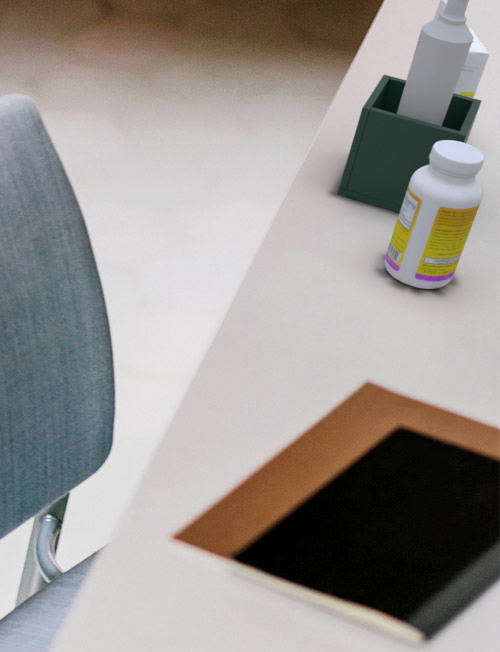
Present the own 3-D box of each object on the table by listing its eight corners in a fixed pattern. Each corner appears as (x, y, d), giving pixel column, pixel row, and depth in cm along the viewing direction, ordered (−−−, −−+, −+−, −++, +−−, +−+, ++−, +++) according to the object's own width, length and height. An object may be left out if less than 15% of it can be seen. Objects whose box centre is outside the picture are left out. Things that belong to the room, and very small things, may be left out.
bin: (451, 184, 132) (481, 100, 126) (435, 223, 124) (466, 135, 118) (358, 157, 135) (383, 74, 128) (337, 194, 127) (362, 107, 121)
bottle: (386, 194, 126) (464, -48, 110) (366, 171, 130) (440, -66, 114) (430, 195, 127) (514, -45, 112) (409, 172, 131) (488, -63, 115)
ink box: (457, 152, 139) (502, 27, 129) (415, 148, 138) (457, 21, 129) (440, 121, 145) (481, -1, 136) (400, 116, 145) (438, -6, 136)
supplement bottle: (462, 276, 116) (509, 155, 108) (430, 299, 112) (476, 175, 104) (402, 248, 119) (443, 128, 111) (369, 269, 115) (409, 146, 107)
